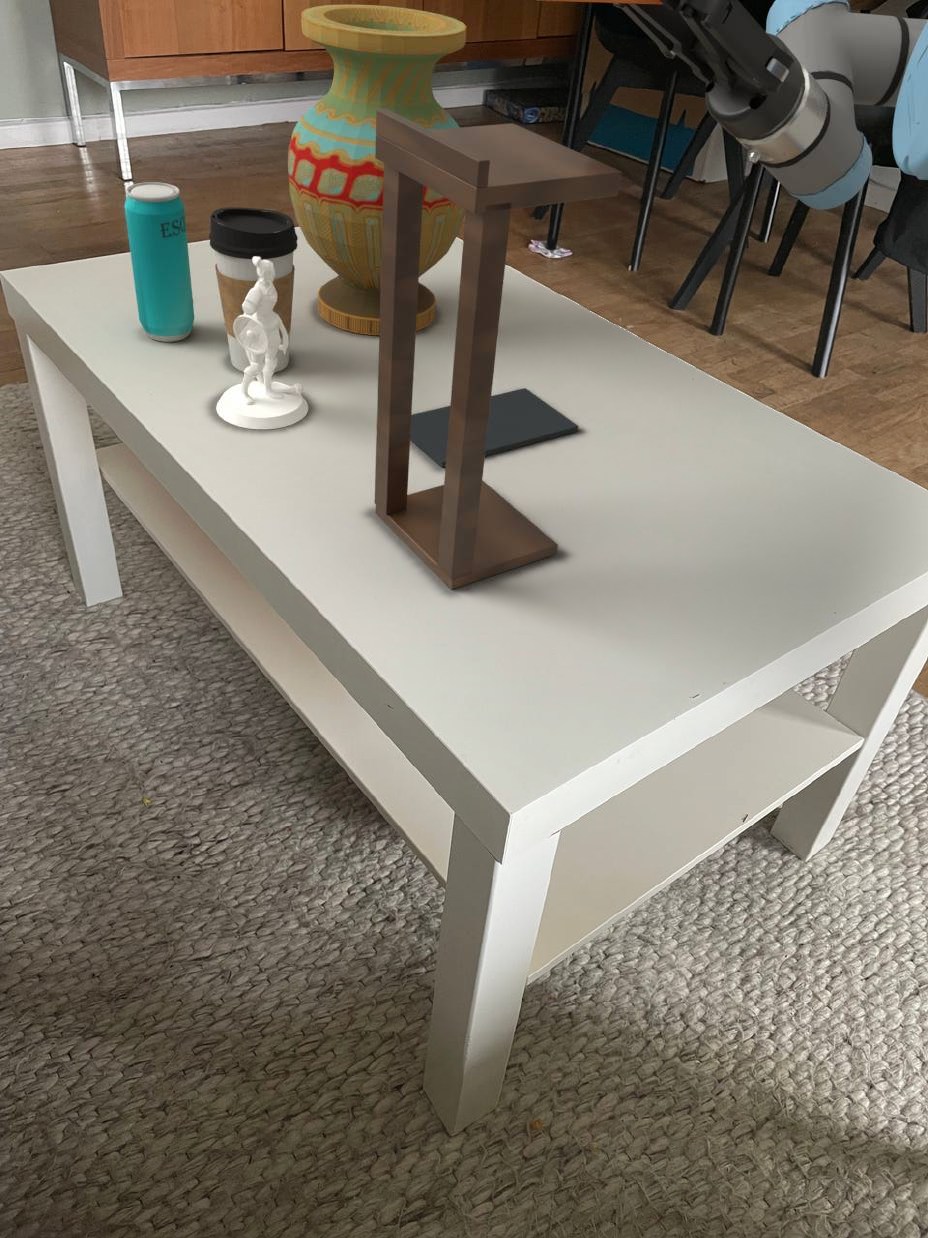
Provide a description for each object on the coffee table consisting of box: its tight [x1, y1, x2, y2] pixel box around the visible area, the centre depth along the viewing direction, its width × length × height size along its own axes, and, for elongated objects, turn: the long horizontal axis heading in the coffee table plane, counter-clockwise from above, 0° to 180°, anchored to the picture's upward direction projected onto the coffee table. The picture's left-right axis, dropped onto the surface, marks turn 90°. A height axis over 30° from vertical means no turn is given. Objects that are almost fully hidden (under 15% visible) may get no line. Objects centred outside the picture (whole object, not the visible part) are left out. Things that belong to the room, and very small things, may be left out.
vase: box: [287, 3, 467, 336], centre depth 109 cm, size 20×20×30 cm
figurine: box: [216, 256, 309, 430], centre depth 93 cm, size 9×9×15 cm
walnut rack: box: [374, 109, 623, 590], centre depth 74 cm, size 11×12×32 cm
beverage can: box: [124, 181, 195, 343], centre depth 105 cm, size 6×6×15 cm
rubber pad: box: [410, 387, 579, 468], centre depth 98 cm, size 16×9×1 cm, turn 123°
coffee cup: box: [208, 206, 298, 375], centre depth 101 cm, size 8×8×15 cm
